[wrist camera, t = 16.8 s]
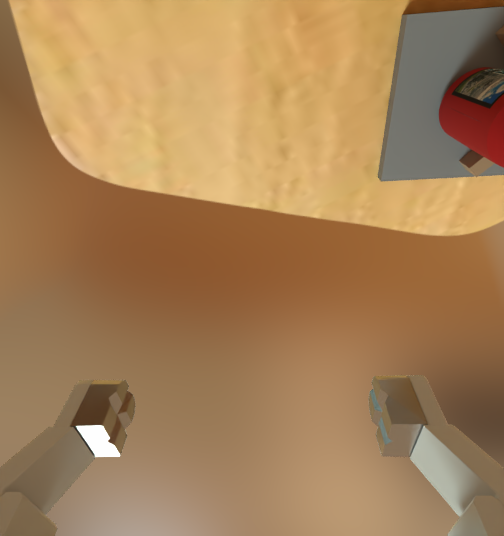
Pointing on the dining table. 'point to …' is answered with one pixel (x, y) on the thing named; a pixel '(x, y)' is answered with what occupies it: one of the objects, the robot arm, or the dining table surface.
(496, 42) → the v stop plate
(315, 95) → the dining table surface
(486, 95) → the beverage can
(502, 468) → the robot arm
